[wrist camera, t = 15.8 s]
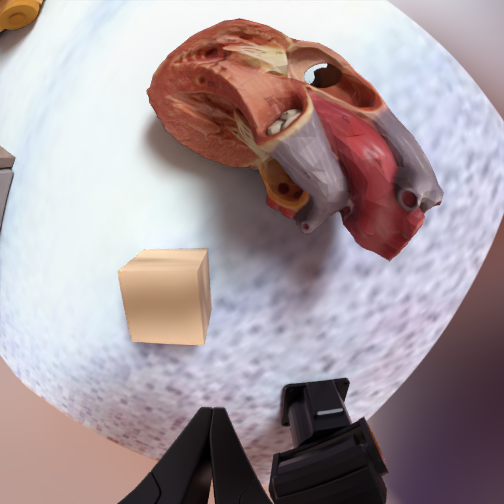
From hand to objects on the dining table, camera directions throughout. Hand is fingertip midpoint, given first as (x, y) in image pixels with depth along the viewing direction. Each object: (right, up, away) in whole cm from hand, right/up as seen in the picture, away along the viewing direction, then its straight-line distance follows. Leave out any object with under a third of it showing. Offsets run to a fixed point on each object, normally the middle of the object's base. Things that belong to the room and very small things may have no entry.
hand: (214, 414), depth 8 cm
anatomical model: (+3, +14, +10) cm, 17 cm away
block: (-4, +3, +12) cm, 14 cm away
